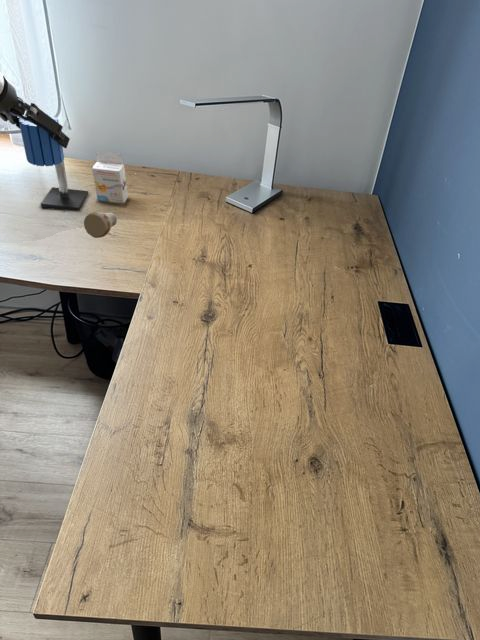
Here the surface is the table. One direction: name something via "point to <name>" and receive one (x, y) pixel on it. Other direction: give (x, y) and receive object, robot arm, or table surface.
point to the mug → (99, 223)
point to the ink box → (110, 178)
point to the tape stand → (63, 193)
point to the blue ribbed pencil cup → (40, 145)
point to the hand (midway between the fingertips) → (50, 138)
